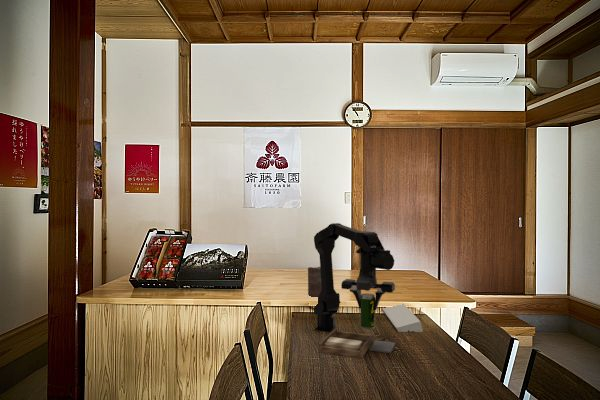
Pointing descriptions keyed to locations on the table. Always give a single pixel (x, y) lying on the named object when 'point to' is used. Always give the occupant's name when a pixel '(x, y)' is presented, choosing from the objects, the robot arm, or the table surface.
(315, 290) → the dark brown tall block
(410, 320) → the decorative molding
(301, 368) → the table surface
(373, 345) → the grey rubber mat
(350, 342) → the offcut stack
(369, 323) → the beer can
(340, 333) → the wooden tray
